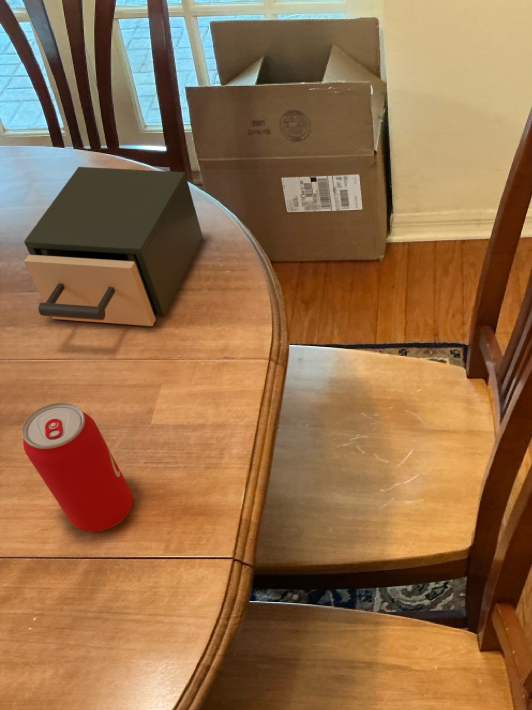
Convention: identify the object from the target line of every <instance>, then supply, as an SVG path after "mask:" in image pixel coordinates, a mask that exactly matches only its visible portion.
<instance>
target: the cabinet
mask: <svg viewBox="0 0 532 710" xmlns="http://www.w3.org/2000/svg"><path fill="white" fill-rule="evenodd" d="M189 185H190V184H189V181H188V179H187V174H186V172H185V171H171V170H169V171H167V170H149V169H133V168H132V169H130V168H127V169H126V168H112V167H109V168H108V167H92V166H91V167H90V166H78V167H77V168H76V170H75V171H74V172H73V174H72V175H71V176H70V177H69V179H68V180H67V182H66V183H65V185H63V187H62V189H61V190H60V192H59V193H57V196H56V197H55V198H54V200H53V201H52V203H51V204H50V205H49V206H48V207H47V210H46V211H45V212H44V213H43V214H42V216H41V217H40V219H39V220H38V222H37V223H36V224H35V225H34V227H33V229H32V230H31V231H30V232H29V234H28V235H27V237H26V238H25V239H24V241H23V243H24V245H25V247H26V250H27V252H28V254H29V255H41V256H43V254H42V252H41V250H40V249H56V250H72V251H87V252H103V253H119V254H134V255H136V256H137V258H138V261H139V264H140V267H141V270H142V272H143V275H144V278H145V281H146V284H147V286H148V289H149V292H150V295H151V298H152V300H153V303H154V306H155V307H154V309H153V310H152V311H153V313H154V316H155V317H165V316H166V314H167V312H168V310H169V308H170V306H171V304H172V302H173V300H174V298H175V296H176V295H177V292H178V290H179V289H180V286H181V285H182V283H183V281H184V279H185V276H186V275H187V272H188V271H189V269H190V266H191V265H192V263H193V261H194V258H195V257H196V255H197V253H198V250H199V249H200V247H201V245H202V243H203V241H204V237H203V233H202V229H201V226H200V222H199V218H198V215H197V211H196V207H195V203H194V200H193V196H192V192H191V188H190V186H189Z"/></svg>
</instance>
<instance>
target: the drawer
mask: <svg viewBox="0 0 532 710" xmlns="http://www.w3.org/2000/svg"><path fill="white" fill-rule="evenodd" d="M40 250H41V252H42V254H43V256H41V255H30V254H27V256H26V257H25V259H24V260H23V262H24V264H25V266H26V268H27V270H28V272H29V275H30V277H31V278H32V280H33V282H34V284H35V287H36V288H37V290H38V293H39V294H40V297H41V299H42V301H43V302H40V303H38V309H37V310H38V313H39V315H40V316H42V317H51V319H53V320H63V321H64V320H65V321H76V322H77V321H79V322H91V323H103V324H105V323H106V324H119V325H130V326H131V325H132V326H142V327H143V326H144V327H153V326H154V325H155V322H156V316H154V313H153V311H152V310H153V309H154V307H155V306H154V303H153V300H152V298H151V295H150V292H149V289H148V286H147V284H146V281H145V278H144V275H143V272H142V270H141V267H140V264H139V261H138V258H137V256H136V255H134V254H119V253H103V252H87V251H72V250H56V249H40Z"/></svg>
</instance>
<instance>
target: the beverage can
mask: <svg viewBox="0 0 532 710" xmlns="http://www.w3.org/2000/svg"><path fill="white" fill-rule="evenodd" d="M21 435H22V446H23V450H24V453H25V455H26V456H27V458H28V459H29V461H30V462H31V465H32V466H33V467H34V469H35V470H36V472H37V473H38V474H39V476H40V478H41V479H42V481H43V482H44V484H45V485H46V487H47V489H48V490H49V491H50V493H51V495H52V496H53V498H54V499H55V501H56V502H57V503H58V505H59V506H60V508H61V509H62V511H63V512H64V514H65V516H66V518H67V519H68V520H69V522H70V523H71V524H72V525H73V526H74V527H75V528H76V529H79V530H81V531H84V532H91V533H93V532H101V531H105V530H108V529H111V528H113V527H116V525H118V524H120V523H121V522H122V521H123V520H124V519H125V518H126V517H127V516H128V515H129V513H130V512H131V510H132V508H133V505H134V495H133V492H132V491H131V488H130V487H129V484H128V483H127V481H126V479H125V477H124V475H123V473H122V471H121V469H120V467H119V466H118V463H117V461H116V460H115V457H114V455H113V453H112V452H111V450H110V448H109V446H108V444H107V442H106V440H105V439H104V437H103V435H102V432H101V431H100V429H99V427H98V425H97V423H96V422H95V420H94V419H93V418H92V417H91V416H90V415H89V414H88V413H86V412H84V411H83V410H82V409H81V408H80V407H78V406H77V405H76V404H74V403H70V402H62V401H61V402H60V401H59V402H53V403H48V404H46V405H43V406H40V407H39V408H37V409H36V410H34V411H33V412H31V413H30V414H29V415H28V416H27V417H26V419H25V420H24V422H23V424H22V427H21Z"/></svg>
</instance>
